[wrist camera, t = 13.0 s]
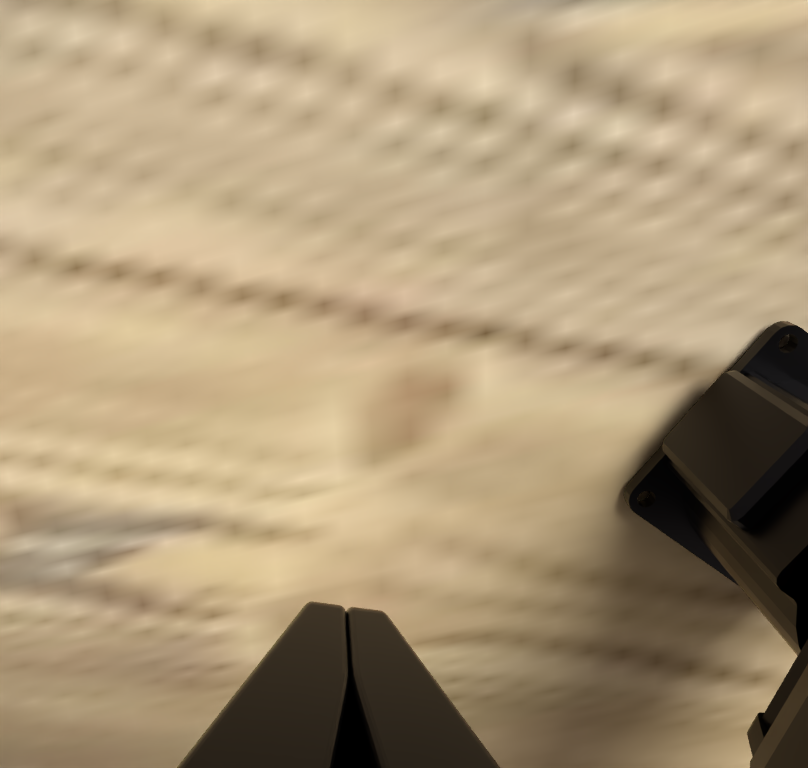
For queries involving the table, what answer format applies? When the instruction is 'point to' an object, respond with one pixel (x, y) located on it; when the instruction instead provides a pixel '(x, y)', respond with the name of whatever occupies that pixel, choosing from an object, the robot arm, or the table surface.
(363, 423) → the table surface
